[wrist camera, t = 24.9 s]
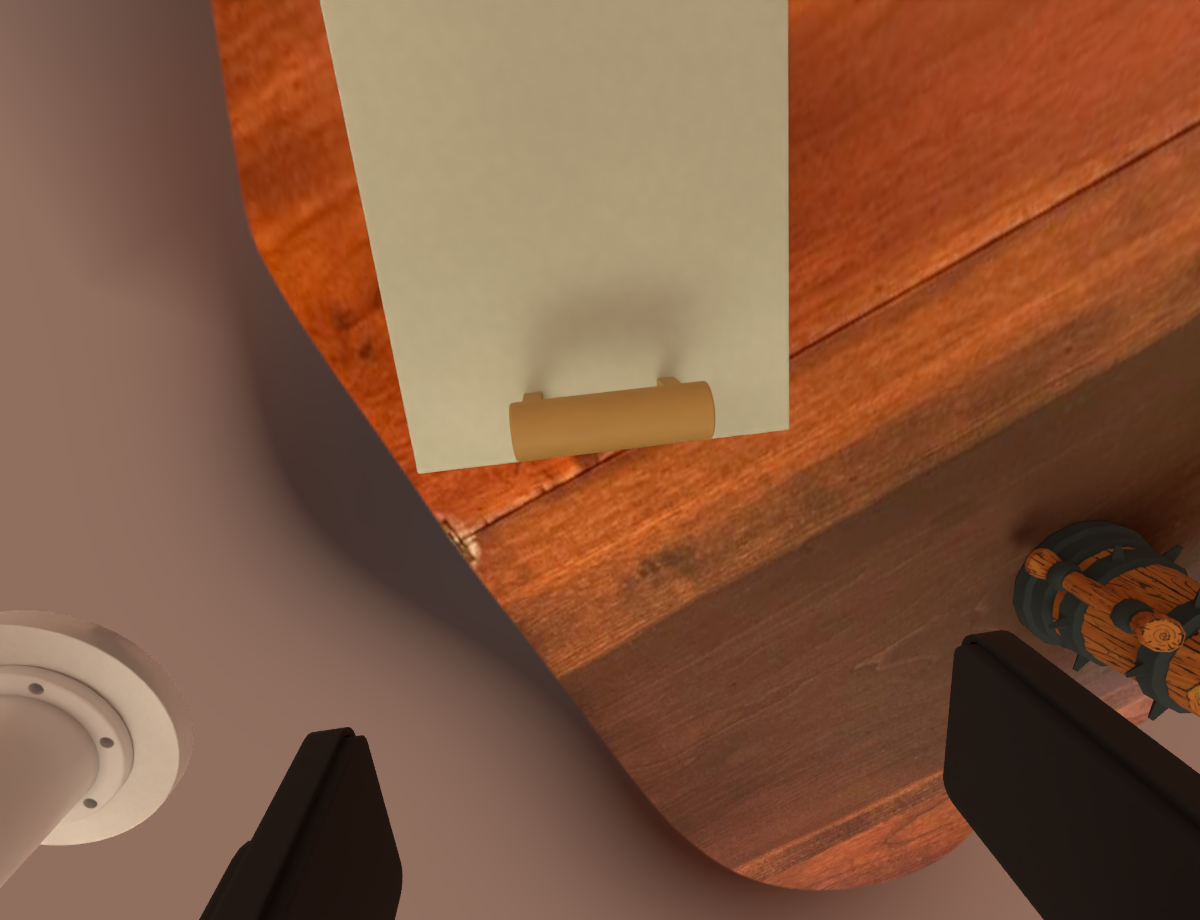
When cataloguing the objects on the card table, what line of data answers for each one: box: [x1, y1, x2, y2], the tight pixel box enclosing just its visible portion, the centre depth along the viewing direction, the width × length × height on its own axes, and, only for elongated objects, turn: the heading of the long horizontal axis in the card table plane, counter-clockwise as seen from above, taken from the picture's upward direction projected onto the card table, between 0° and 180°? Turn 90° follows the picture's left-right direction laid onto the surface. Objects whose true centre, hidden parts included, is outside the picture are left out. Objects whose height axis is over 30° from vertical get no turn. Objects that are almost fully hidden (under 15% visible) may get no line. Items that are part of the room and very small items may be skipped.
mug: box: [1013, 520, 1200, 720], centre depth 36 cm, size 13×10×12 cm
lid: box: [320, 0, 789, 474], centre depth 18 cm, size 18×15×6 cm
